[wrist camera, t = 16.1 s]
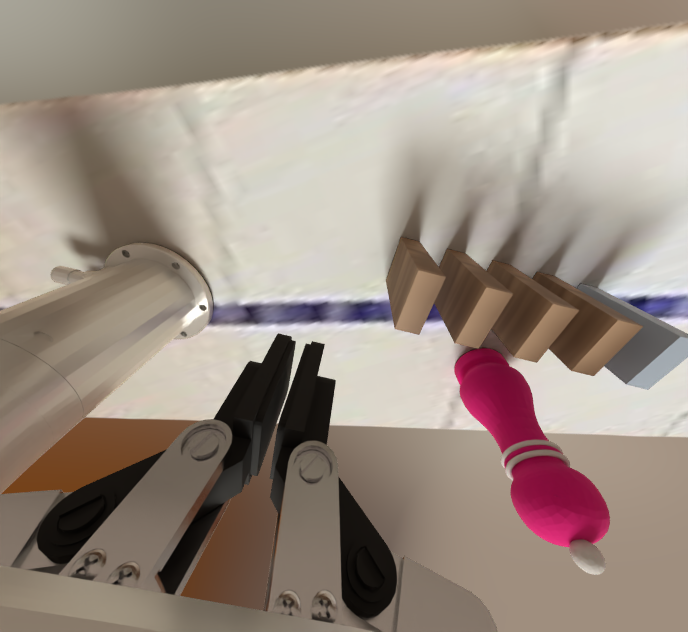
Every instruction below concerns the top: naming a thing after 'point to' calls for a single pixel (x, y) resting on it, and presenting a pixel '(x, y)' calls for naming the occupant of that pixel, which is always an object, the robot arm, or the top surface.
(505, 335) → the domino
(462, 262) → the domino
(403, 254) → the domino
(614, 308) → the domino
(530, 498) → the pepper mill
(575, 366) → the domino
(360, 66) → the top surface
